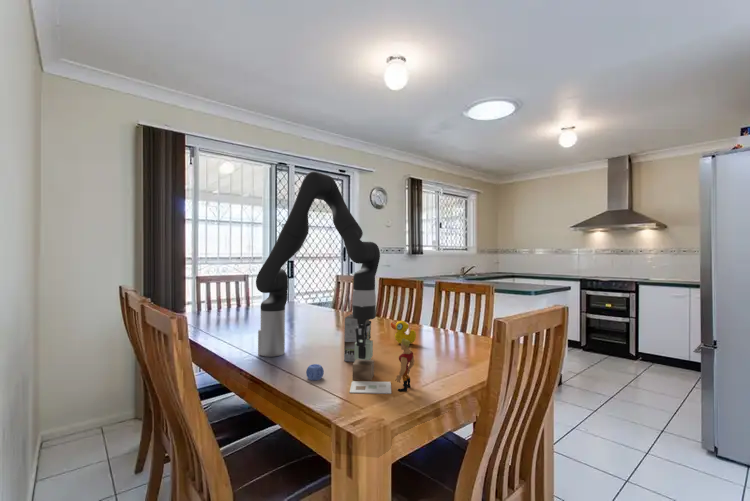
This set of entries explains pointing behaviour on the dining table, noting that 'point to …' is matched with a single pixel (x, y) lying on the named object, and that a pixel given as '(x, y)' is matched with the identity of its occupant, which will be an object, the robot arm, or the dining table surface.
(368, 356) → the sage cube
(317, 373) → the decorative dice
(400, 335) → the duckling
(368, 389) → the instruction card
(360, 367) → the base block
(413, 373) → the dining table surface
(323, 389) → the dining table surface
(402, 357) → the action figure
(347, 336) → the coffee box
